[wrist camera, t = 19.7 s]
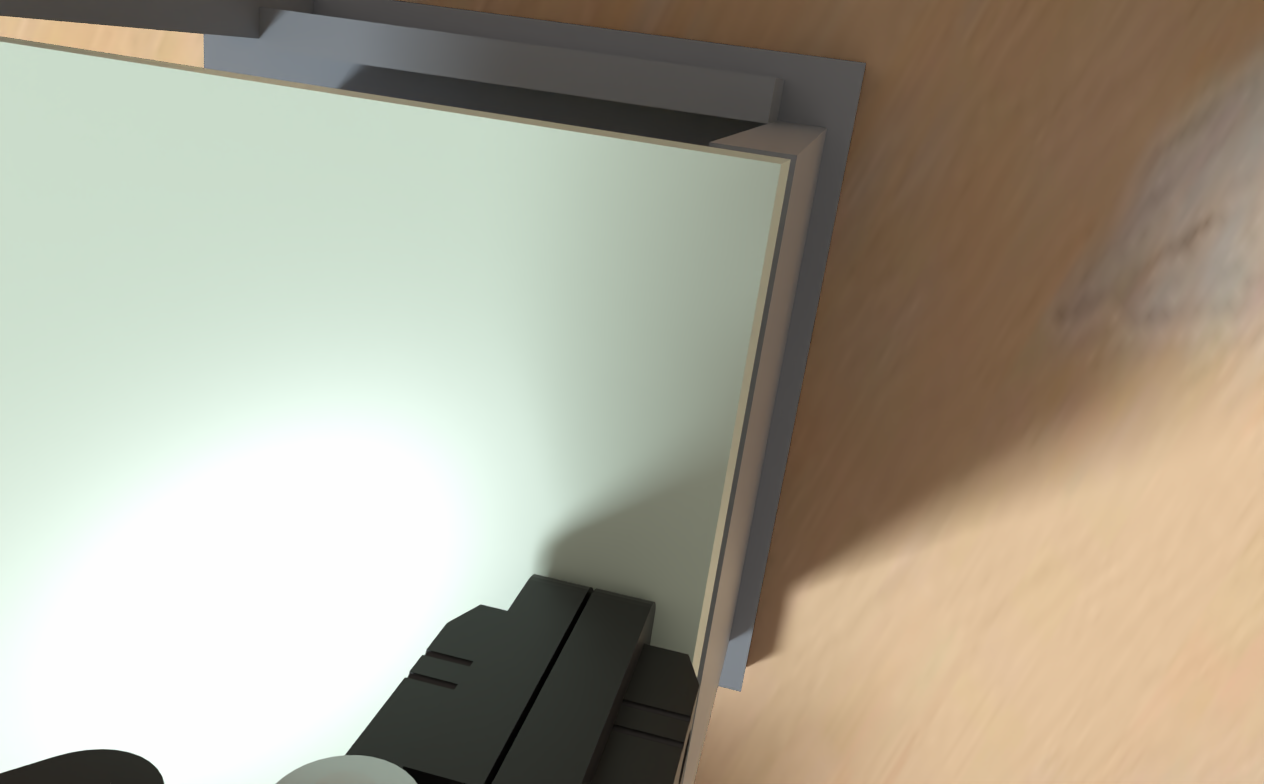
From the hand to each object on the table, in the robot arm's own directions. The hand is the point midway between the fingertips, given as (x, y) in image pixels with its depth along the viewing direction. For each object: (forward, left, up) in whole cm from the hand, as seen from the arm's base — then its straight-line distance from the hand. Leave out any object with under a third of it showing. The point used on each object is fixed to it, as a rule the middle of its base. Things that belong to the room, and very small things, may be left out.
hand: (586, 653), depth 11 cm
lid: (-5, 0, -2) cm, 5 cm away
